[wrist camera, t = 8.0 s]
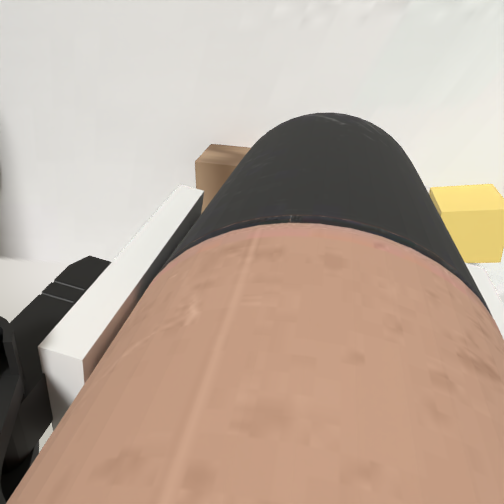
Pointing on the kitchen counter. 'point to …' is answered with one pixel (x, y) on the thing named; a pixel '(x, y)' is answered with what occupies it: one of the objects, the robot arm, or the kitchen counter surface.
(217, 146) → the walnut cube
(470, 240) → the mustard cube
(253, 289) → the travel mug
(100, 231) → the kitchen counter surface
